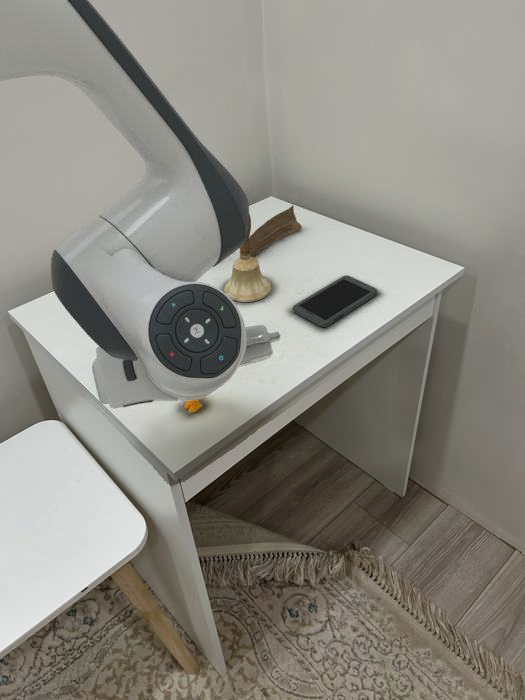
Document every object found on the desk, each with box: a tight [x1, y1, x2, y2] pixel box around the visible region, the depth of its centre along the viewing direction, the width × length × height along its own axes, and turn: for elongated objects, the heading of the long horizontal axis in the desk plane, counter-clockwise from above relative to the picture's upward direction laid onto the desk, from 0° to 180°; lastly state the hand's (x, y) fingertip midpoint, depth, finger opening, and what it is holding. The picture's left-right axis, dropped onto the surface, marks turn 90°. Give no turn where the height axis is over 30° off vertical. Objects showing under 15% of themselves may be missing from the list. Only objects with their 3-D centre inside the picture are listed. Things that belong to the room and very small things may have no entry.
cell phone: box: [292, 275, 379, 328], centre depth 91 cm, size 7×14×1 cm, turn 132°
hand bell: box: [223, 213, 272, 303], centre depth 91 cm, size 8×8×16 cm
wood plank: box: [249, 205, 302, 258], centre depth 107 cm, size 15×2×5 cm, turn 143°
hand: (182, 369), depth 69 cm, fingers open, 8 cm apart
